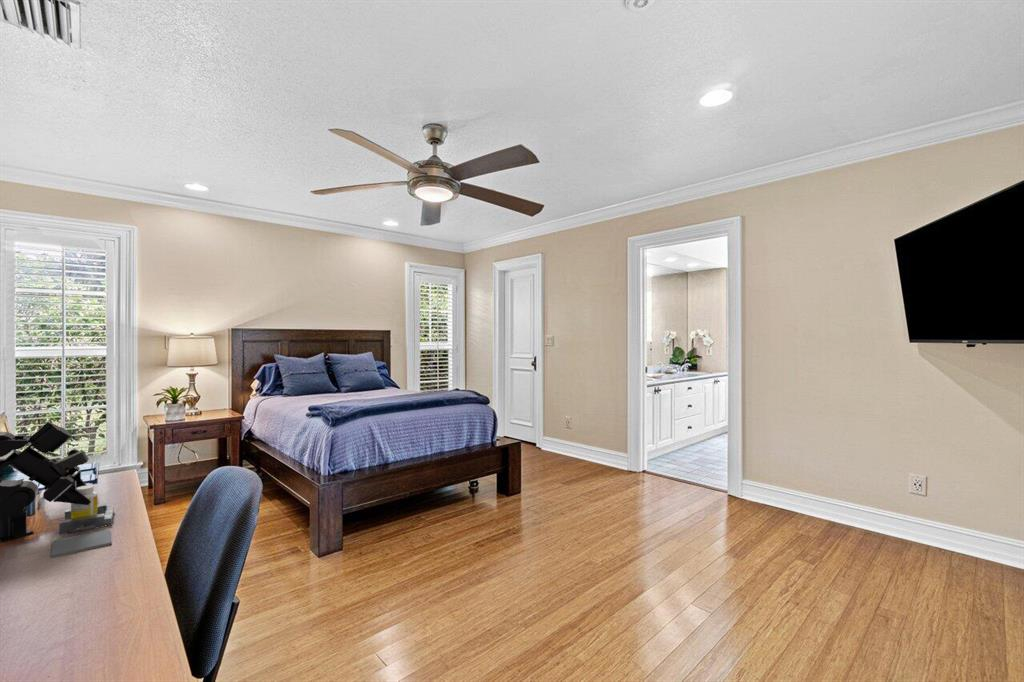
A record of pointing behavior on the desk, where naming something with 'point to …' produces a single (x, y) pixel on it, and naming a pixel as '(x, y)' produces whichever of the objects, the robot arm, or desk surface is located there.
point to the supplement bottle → (85, 510)
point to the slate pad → (81, 543)
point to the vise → (86, 520)
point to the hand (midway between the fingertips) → (91, 499)
